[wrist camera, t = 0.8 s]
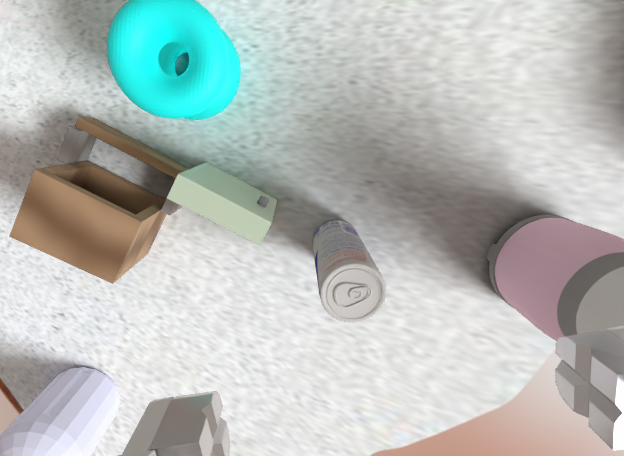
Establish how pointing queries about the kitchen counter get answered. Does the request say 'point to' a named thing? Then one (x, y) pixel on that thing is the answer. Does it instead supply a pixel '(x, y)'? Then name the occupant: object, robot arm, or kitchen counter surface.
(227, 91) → the donuts
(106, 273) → the cabinet
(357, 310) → the beverage can
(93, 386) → the soap bottle
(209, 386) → the kitchen counter surface
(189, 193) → the pale green flat block
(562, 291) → the blender
